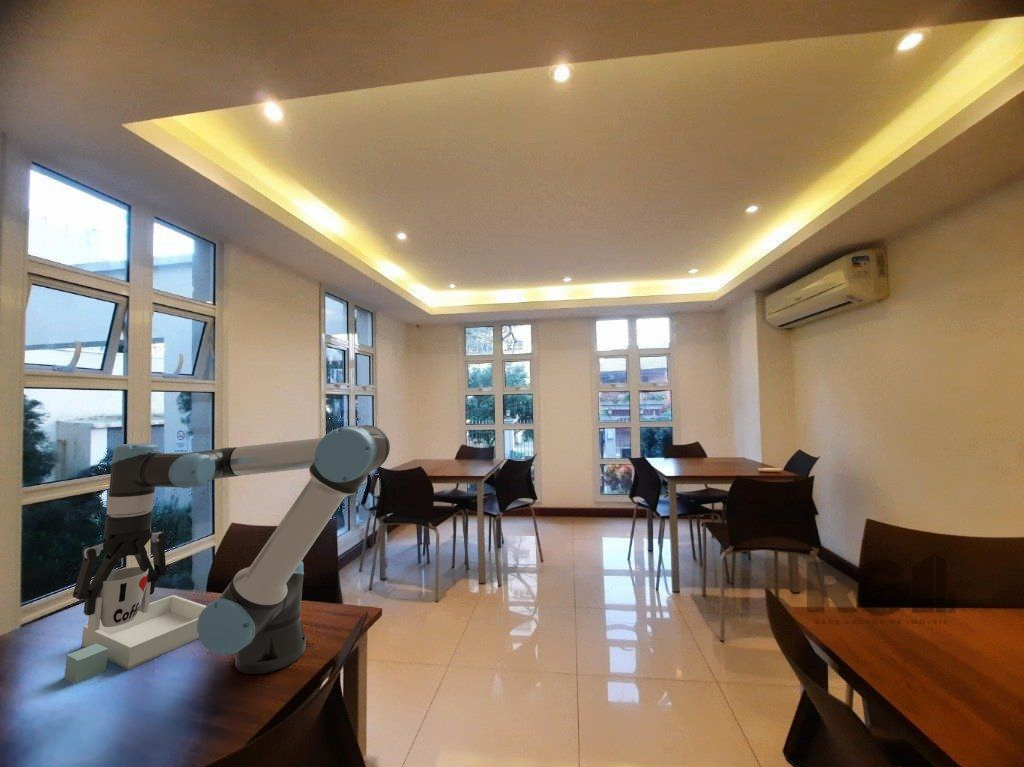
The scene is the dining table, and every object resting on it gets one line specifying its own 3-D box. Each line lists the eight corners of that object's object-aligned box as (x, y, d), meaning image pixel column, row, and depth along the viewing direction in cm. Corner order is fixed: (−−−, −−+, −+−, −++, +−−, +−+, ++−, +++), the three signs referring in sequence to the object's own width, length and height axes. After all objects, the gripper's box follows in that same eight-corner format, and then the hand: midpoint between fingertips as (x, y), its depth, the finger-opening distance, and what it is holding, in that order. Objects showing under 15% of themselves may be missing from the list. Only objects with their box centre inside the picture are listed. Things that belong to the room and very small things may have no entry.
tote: (217, 629, 109) (219, 610, 110) (128, 670, 91) (130, 647, 92) (171, 612, 117) (173, 594, 118) (81, 646, 99) (83, 626, 100)
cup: (110, 633, 81) (116, 583, 82) (81, 628, 83) (86, 579, 83) (153, 614, 89) (158, 568, 90) (126, 609, 90) (130, 565, 91)
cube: (105, 671, 91) (108, 648, 91) (75, 684, 86) (78, 660, 87) (94, 665, 93) (96, 643, 93) (64, 678, 88) (67, 654, 88)
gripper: (173, 502, 98) (164, 596, 97) (55, 522, 80) (41, 639, 78) (192, 505, 96) (183, 602, 94) (74, 526, 77) (60, 649, 75)
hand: (119, 619), depth 86 cm, fingers closed on cup, 8 cm apart
